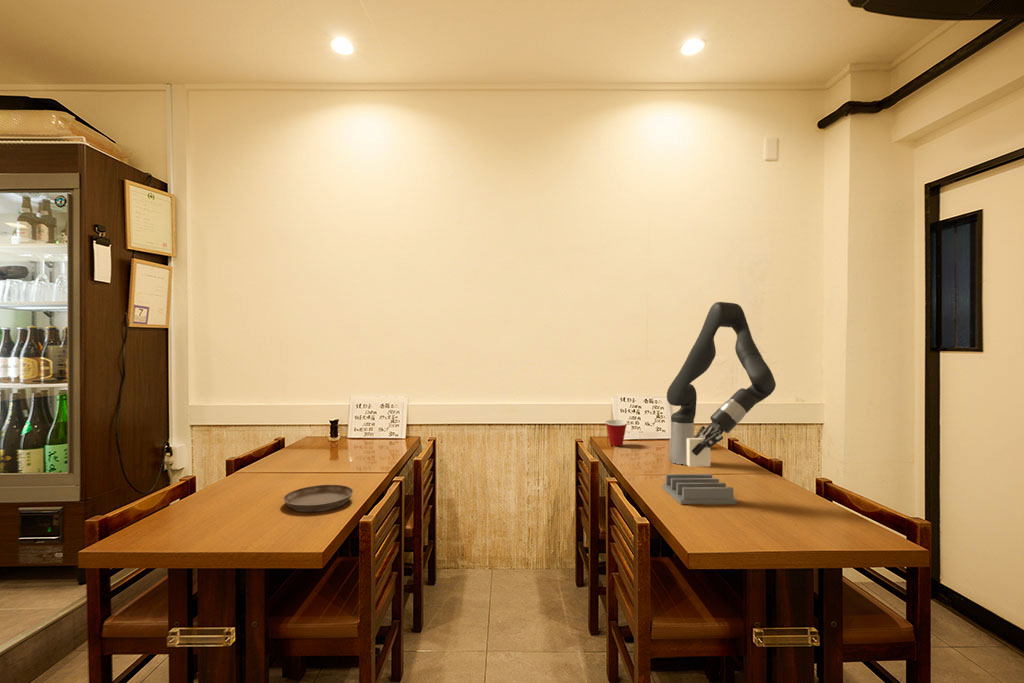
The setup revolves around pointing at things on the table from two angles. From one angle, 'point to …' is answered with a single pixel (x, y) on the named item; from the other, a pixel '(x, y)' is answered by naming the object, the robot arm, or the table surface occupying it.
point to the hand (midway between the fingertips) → (692, 452)
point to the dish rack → (698, 489)
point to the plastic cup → (616, 431)
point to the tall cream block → (702, 457)
